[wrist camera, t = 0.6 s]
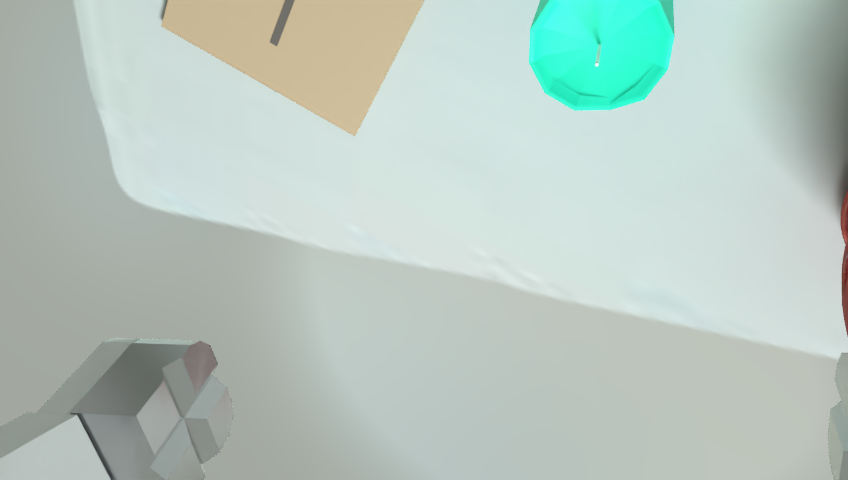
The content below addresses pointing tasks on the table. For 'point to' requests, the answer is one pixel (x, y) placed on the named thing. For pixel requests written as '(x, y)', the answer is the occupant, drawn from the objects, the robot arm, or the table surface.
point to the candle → (601, 50)
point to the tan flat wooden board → (303, 46)
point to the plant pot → (845, 260)
